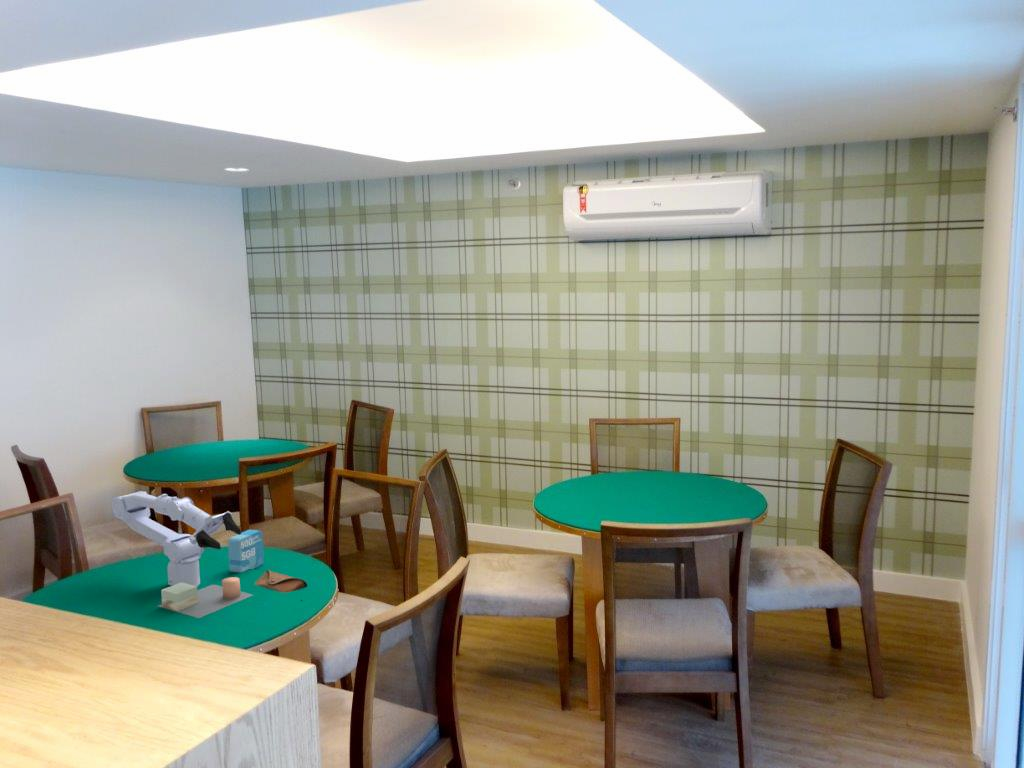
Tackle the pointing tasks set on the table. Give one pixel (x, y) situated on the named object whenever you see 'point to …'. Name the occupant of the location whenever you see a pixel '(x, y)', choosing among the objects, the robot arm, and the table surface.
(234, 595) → the terracotta cylinder
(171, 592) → the sage top slab
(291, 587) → the sunglasses case
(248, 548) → the data package
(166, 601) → the birch base slab
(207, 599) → the slate board
